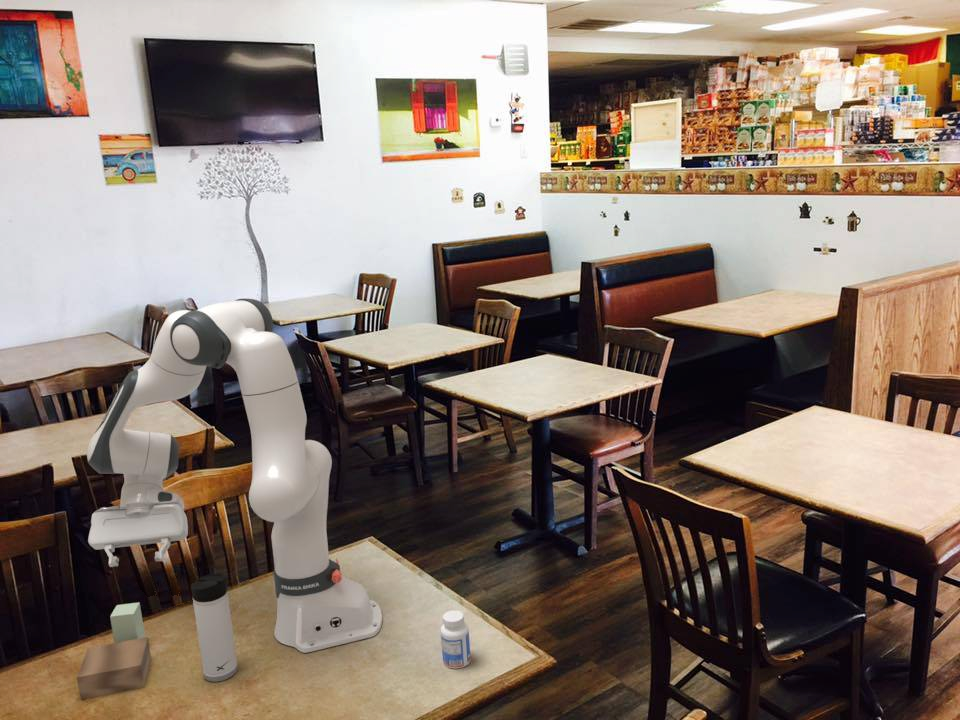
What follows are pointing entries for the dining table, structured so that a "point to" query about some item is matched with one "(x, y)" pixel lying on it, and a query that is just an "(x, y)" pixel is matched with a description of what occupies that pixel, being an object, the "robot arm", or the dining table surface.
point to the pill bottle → (455, 640)
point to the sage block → (127, 622)
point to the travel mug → (214, 627)
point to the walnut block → (114, 668)
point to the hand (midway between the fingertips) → (136, 563)
